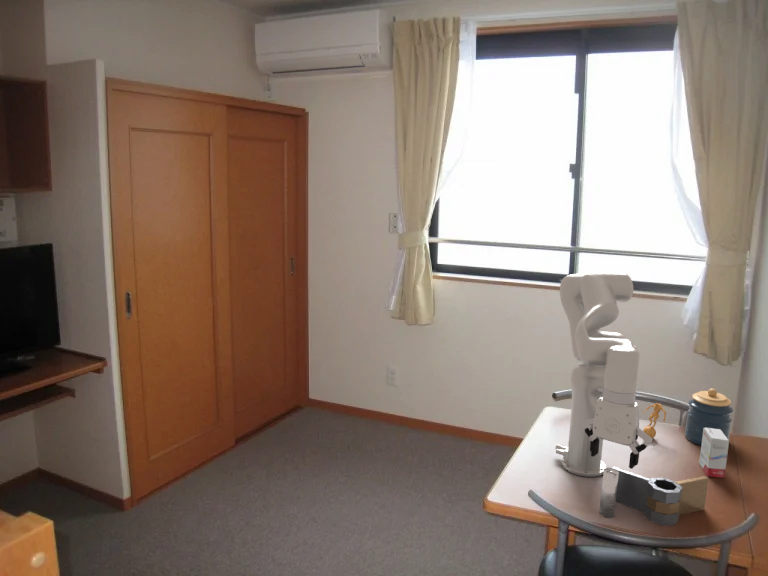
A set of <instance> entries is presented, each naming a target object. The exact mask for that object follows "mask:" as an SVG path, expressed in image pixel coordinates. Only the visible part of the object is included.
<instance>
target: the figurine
mask: <svg viewBox="0 0 768 576" xmlns="http://www.w3.org/2000/svg"><path fill="white" fill-rule="evenodd" d="M651 407H652V408H653V411H651V414H650V415H649V417H648V420H649V422H650V423H649V424H648V425H647V426H645V427H644V428H643V429H642V431H643V432H645V433H646V434H647V435H649V436H650V437H651V438H652V439H654V438H655V437H656V435H657V431H656V428H655V426H656V424H657V420H658V419H659V417H660V415H659V413H660V412H661V411H662V412H663V418H662V422H666V416H667V412H666V410H665V409H664V408H663V405H662V404H661V403H658V402H656V403H655V404H650V405H649V406H648V407H647V408H646V409H644V411H643V413H645V412H646V411H647V410H649V409H650V408H651ZM652 423H653V424H652Z"/></svg>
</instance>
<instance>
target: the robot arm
mask: <svg viewBox="0 0 768 576" xmlns="http://www.w3.org/2000/svg"><path fill="white" fill-rule="evenodd" d="M633 294H634V283H633V281H632V278H631V277H630V275H628V273H626V272H619V271H590V272H586V273H572V274H568V275H566V276H564V277H563V278H562V279H561V281H560V285H559V296H560V302H561V305H562V308H563V311H564V312H565V315H566V318H567V320H568V324H569V330H570V331H569V332H570V338H571V347H572V353H573V357H574V359H575V360H576V362H579V363H582V364H578V365H577V366H575V367H574V368H572V371H571V374H570V384H571V385H570V386H571V388H570V389H571V409H570V410H571V411H570V421H569V422H570V423H569V435H568V446H564V445H562V444H559V443H557V444H556V445H555V453H556V454H558V455H562V456H563V457H562V459H561V466H562V467H563V469H564V470H566V471H567V470H568V471H567V472H569V473H570V474H573V475H576V476H581V477H584V478H585V477H586V478H588V477H589V478H594V477H595V478H596V477H600V476H602V475H603V473H604V468H607V465H606V464H605V462H604V461H603V460H602V456H603V455H602V453H603V448H604V447H603V445H604V441H608V442H612V443H615V444H619V445H622V446H625V447H626V446H627V447H629V448H630V450H631V452H630V455H629V463H628V464H629V465H628V468H629V469H632V470H633V469H634V467H636V466H637V465H639V460H640V453H641V452H642V451H644V450H645V449H647V448H648V447H649V445H650V444H651V443H652V441H653V438H651V437H650V436H649V435H647V434H646V433H645V432H643V429H641V428H640V415H639V414H640V413H639V405H638V402H636V397H637V396H636V395H637V386H638V376H639V367H640V365H639V364H640V351H639V350H638V349H637V346H636V345H635V344H634V342H633V340H631V339H628V338H627V337H626V336H625V335H624V334H622V333H620V332H616V331H614V332H613V331H602V330H601V329H602V328H605V327H607V326H609V325H611V324H612V323H614V322H615V321H616V320H617V319H618V317H619V313H620V310H619V307H618V304H617V303H626V302H629V301H630V300H631V299H632V297H633ZM639 438H640V439H642V440H643V442H642V443H641V444H640V443H639V441H638V439H639Z"/></svg>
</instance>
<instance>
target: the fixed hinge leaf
mask: <svg viewBox="0 0 768 576" xmlns="http://www.w3.org/2000/svg"><path fill="white" fill-rule="evenodd" d="M611 468H614V469H616V470H618V471H619V475H618V485H617V494H616V503H618V504H621V505H624V506H627V507H629V508H632V509H634V510H638V511H641V512H643V513H644V516H645V517H647V519H648V520H649V521H650V522H652V523H654V524H658V525H660V526H664V527H665V526H675V525H676V524H677V522H679V517H680V515H679V513H676V514H671V515H667V514H662V513H658V512H655V511H653V510H652V509H651V508H649V507H648V506H647V497H648V494H649V495H650V497H651V498H652V499H654V500H657V501H660V502H663V503H665V504H667V503H678V502H679V501H680V499H681V496H682V487H681V486H680V485H679V484H678V483H676V482H675V480H672V479H669V478H667V477H652V478H650V477H649V478H648V477H645V476H643V475H640V474H637V473H635V472H631V471H628V470H624V469H621V468H619V467H616V466H612V467H611ZM679 512H680V509H679Z"/></svg>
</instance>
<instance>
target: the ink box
mask: <svg viewBox="0 0 768 576" xmlns="http://www.w3.org/2000/svg"><path fill="white" fill-rule="evenodd" d="M729 444H730V439H729V440H728V439H727V437H726V436H725V435H724V433H723V432H722V431H721V430H720V429H713V428H704V429H703V437H702V445H700V455H699V461H698V464H699V466H701V468H702V470H703V471H704V473H705V476H706V477H707V478H709V477H710V478H721V479H724V478H725V475H726V468H727V461H728V451H729Z"/></svg>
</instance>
